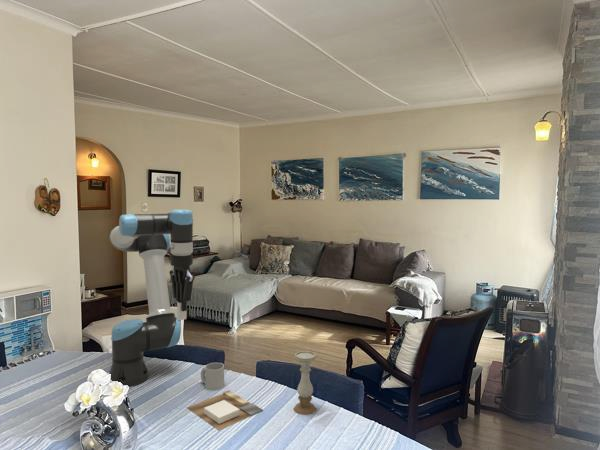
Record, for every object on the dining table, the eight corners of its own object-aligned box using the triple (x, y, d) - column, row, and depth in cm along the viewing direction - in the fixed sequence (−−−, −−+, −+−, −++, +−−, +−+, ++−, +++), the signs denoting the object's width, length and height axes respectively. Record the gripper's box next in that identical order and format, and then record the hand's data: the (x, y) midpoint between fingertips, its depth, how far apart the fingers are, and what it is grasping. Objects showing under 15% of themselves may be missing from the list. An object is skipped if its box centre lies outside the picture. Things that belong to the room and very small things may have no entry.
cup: (217, 394, 159) (217, 371, 159) (195, 389, 164) (195, 366, 163) (228, 386, 166) (227, 364, 165) (206, 382, 170) (206, 360, 169)
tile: (204, 407, 143) (219, 417, 136) (224, 399, 148) (239, 409, 142) (204, 414, 143) (219, 424, 136) (224, 406, 148) (239, 415, 142)
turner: (220, 397, 154) (220, 393, 154) (231, 393, 158) (231, 389, 158) (250, 416, 142) (250, 411, 141) (262, 411, 145) (262, 406, 145)
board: (186, 410, 147) (186, 407, 147) (229, 394, 160) (229, 391, 160) (218, 434, 133) (218, 430, 133) (263, 413, 145) (263, 410, 145)
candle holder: (320, 408, 149) (321, 351, 148) (313, 420, 141) (313, 361, 140) (297, 404, 152) (297, 348, 151) (288, 416, 144) (288, 357, 143)
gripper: (162, 252, 151) (163, 317, 154) (181, 257, 142) (182, 326, 145) (181, 250, 157) (181, 312, 159) (201, 255, 148) (201, 321, 150)
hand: (181, 319), depth 152 cm, fingers closed
